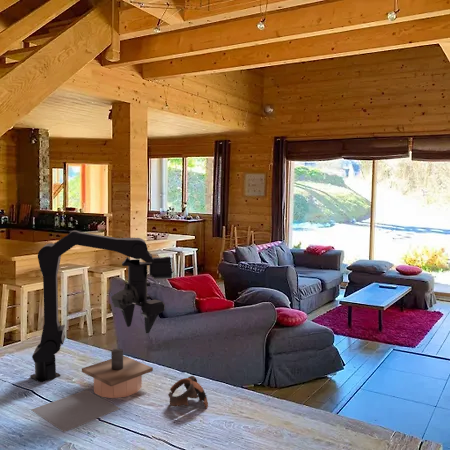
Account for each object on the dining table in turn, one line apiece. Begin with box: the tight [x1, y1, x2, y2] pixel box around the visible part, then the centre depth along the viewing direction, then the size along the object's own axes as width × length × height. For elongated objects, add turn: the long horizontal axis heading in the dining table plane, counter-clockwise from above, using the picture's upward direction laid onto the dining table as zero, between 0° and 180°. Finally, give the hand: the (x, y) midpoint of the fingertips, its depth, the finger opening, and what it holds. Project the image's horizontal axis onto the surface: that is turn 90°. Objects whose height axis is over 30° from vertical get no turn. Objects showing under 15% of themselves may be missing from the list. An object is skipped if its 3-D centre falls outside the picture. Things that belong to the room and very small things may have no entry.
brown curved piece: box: [167, 375, 209, 410], centre depth 128 cm, size 12×10×8 cm
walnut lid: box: [81, 348, 154, 386], centre depth 136 cm, size 14×14×6 cm
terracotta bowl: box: [92, 375, 143, 399], centre depth 137 cm, size 13×13×5 cm
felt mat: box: [31, 389, 122, 433], centre depth 124 cm, size 16×16×1 cm
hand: (138, 329), depth 148 cm, fingers open, 9 cm apart
